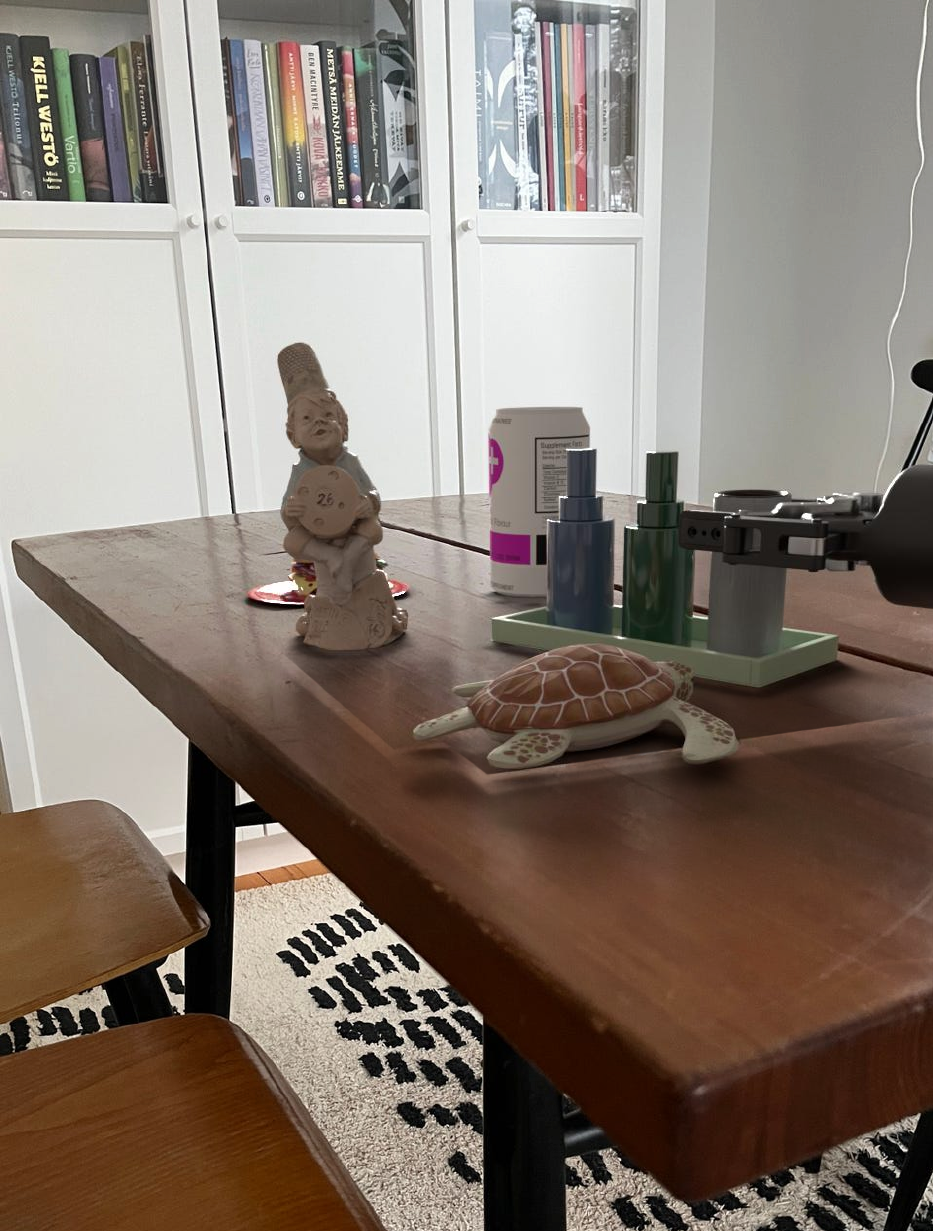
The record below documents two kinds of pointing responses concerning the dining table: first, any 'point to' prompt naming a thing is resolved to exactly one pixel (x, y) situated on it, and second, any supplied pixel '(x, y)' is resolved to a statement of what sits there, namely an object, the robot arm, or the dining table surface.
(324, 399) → the figurine
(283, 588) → the red plate
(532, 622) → the tray
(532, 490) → the supplement can
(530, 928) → the dining table surface
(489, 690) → the decorative turtle
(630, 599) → the green bottle
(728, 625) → the grey cylinder
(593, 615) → the blue bottle
